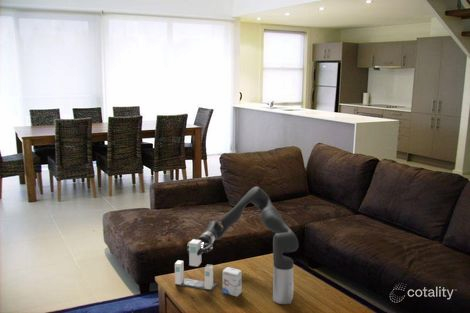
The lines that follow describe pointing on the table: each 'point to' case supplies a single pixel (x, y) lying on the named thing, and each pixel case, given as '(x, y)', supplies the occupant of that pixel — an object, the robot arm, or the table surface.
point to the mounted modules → (180, 274)
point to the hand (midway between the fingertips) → (193, 252)
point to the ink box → (232, 281)
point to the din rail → (195, 284)
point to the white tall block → (194, 252)
